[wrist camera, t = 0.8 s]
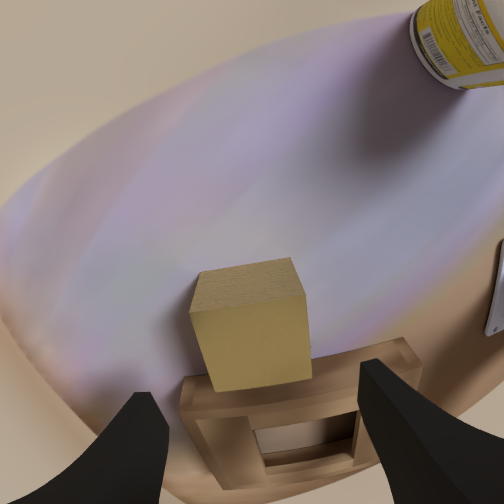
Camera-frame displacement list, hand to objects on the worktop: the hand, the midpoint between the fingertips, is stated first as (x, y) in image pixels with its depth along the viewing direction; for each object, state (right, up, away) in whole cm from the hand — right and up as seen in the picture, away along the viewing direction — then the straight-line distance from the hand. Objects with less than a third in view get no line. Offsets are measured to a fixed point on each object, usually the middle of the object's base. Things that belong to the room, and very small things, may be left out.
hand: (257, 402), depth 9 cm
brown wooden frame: (+3, -7, +10) cm, 12 cm away
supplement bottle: (+11, +17, +2) cm, 20 cm away
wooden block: (0, +2, +7) cm, 7 cm away
